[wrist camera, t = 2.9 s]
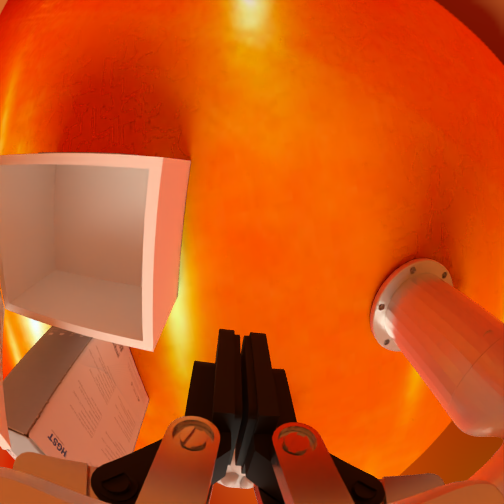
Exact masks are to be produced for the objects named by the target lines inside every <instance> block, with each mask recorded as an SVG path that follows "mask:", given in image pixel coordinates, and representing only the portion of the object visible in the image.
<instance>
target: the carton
mask: <svg viewBox="0 0 504 504" xmlns="http://www.w3.org/2000/svg"><path fill="white" fill-rule="evenodd" d="M190 165H191V161H189V160H181V159H173V158H165V157H153V156H139V155H134V154H122V153H99V152H42V153H38V154H17V155H2V156H0V283H1V289H2V294H3V299H4V304H5V308H6V309H7V310H10V311H12V312H15V313H18V314H20V315H23V316H26V317H28V318H31V319H34V320H37V321H40V322H43V323H46V324H49V325H52V326H55V327H58V328H61V329H65V330H68V331H71V332H75V333H78V334H82V335H85V336H89V337H93V338H96V339H100V340H104V341H108V342H112V343H116V344H121V345H125V346H129V347H134V348H138V349H143V350H148V351H154V349H155V346H156V344H157V342H158V339H159V337H160V335H161V332H162V330H163V328H164V326H165V323H166V321H167V319H168V316H169V314H170V312H171V310H172V308H173V305H174V303H175V301H176V299H177V296H178V281H179V267H180V254H181V243H182V232H183V222H184V213H185V204H186V195H187V187H188V180H189V172H190Z"/></svg>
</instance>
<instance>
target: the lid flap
mask: <svg viewBox="0 0 504 504" xmlns="http://www.w3.org/2000/svg"><path fill="white" fill-rule="evenodd" d="M3 321H4V306H3V301H2V296H1V291H0V446H1V447H2V449H3V450H4V449H11V444H10V439H9V433H8V427H7V420H6V412H5V403H4V392H3V374H2V339H3Z"/></svg>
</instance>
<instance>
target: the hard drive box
mask: <svg viewBox="0 0 504 504" xmlns="http://www.w3.org/2000/svg"><path fill="white" fill-rule="evenodd" d="M3 392H4V403H5V412H6V420H7V427H8V433H9V439H10V444H11V449H6V450H7V451H8V452H9V453H10V455H11V456H12V457H13V458H14V459H15V460H16V457H18V456H19V455H20V454H21V453H25V452H34V453H38V454H42V455H46V456H51V457H55V458H60V459H65V460H71V461H76V462H83V463H88V465H89V466H93V467H99V466H101V465H103V464H105V463H108V462H111V461H113V460H116V459H118V458H121V457H123V456H125V455H128V454H130V453H132V452H133V451H134V448H135V444H136V441H137V438H138V435H139V431H140V428H141V425H142V422H143V419H144V416H145V412H146V409H147V406H148V403H149V398H148V396H147V393H146V391H145V389H144V386H143V383H142V381H141V378H140V376H139V374H138V371H137V368H136V366H135V363H134V360H133V358H132V355H131V352H130V349H129V346H125V345H121V344H116V343H112V342H108V341H104V340H100V339H96V338H93V337H89V336H85V335H82V334H78V333H75V332H71V331H68V330H65V329H61V328H58V327H55V326H52V327H51V328H50V329H49V330H48V331H47V332H46V333H45V334H44V335H43V336H42V337H41V338H40V339H39V341H38V342H37V343H36V344H35V345H34V346H33V347H32V348H31V349H30V350H29V351H28V352H27V354H26V355H25V356H24V357H23V358H22V359H21V360H20V361H19V363H18V364H17V365H16V366H15V367H14V368H13V370H12V371H11V372H10V373H9V374H8V376H7V377H6V378H5V379H4V380H3Z"/></svg>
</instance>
